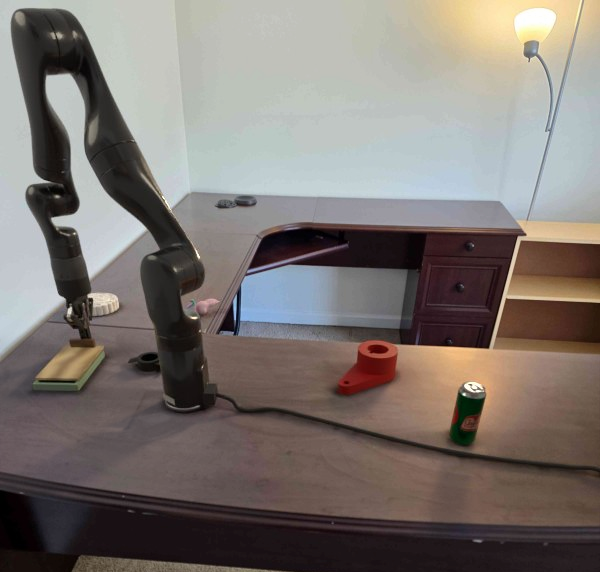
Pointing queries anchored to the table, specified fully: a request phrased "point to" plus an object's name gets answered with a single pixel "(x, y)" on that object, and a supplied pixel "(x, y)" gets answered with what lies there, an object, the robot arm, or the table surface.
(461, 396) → the soda can
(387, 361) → the lever
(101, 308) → the mooncake
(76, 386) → the sliding lid box
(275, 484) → the table surface
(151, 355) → the black wing nut
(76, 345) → the slide lid
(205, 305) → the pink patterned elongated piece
